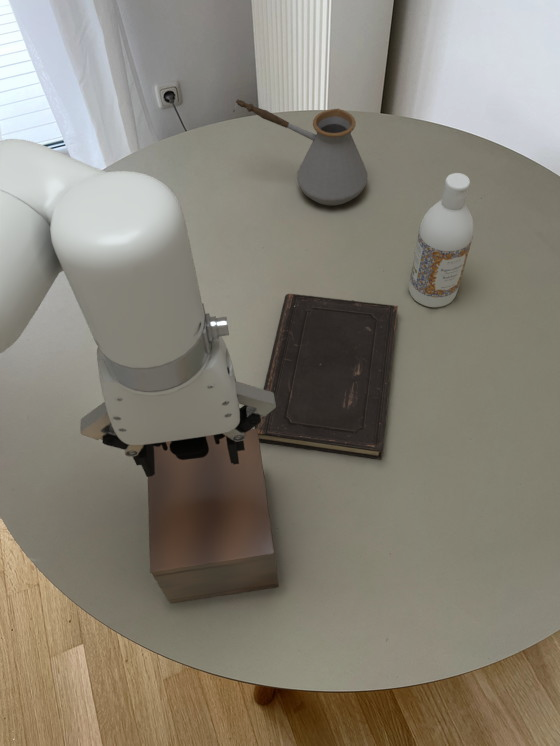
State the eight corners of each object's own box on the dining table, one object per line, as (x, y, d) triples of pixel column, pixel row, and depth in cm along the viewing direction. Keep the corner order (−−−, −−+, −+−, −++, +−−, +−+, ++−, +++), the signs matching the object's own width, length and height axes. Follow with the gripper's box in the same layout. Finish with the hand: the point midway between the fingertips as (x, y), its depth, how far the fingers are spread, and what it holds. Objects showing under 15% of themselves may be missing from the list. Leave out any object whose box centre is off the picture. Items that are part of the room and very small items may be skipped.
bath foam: (419, 314, 92) (443, 205, 76) (400, 279, 96) (420, 168, 80) (464, 302, 93) (497, 192, 77) (444, 269, 97) (472, 157, 81)
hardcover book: (395, 316, 92) (397, 305, 91) (380, 459, 80) (382, 451, 78) (285, 303, 95) (284, 292, 93) (253, 441, 82) (252, 432, 80)
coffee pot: (371, 171, 110) (378, 90, 98) (360, 218, 104) (367, 137, 92) (249, 158, 113) (242, 77, 101) (232, 202, 107) (222, 121, 95)
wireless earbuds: (229, 442, 62) (223, 415, 57) (231, 466, 60) (225, 440, 56) (155, 451, 61) (144, 425, 57) (155, 475, 60) (144, 450, 56)
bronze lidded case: (170, 603, 71) (149, 572, 62) (165, 486, 79) (146, 443, 70) (278, 587, 72) (274, 553, 62) (263, 472, 79) (257, 428, 70)
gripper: (270, 284, 48) (279, 409, 63) (33, 315, 47) (98, 434, 62) (285, 366, 44) (291, 479, 58) (25, 402, 43) (97, 507, 58)
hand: (192, 455), depth 60 cm, fingers closed on wireless earbuds, 7 cm apart
